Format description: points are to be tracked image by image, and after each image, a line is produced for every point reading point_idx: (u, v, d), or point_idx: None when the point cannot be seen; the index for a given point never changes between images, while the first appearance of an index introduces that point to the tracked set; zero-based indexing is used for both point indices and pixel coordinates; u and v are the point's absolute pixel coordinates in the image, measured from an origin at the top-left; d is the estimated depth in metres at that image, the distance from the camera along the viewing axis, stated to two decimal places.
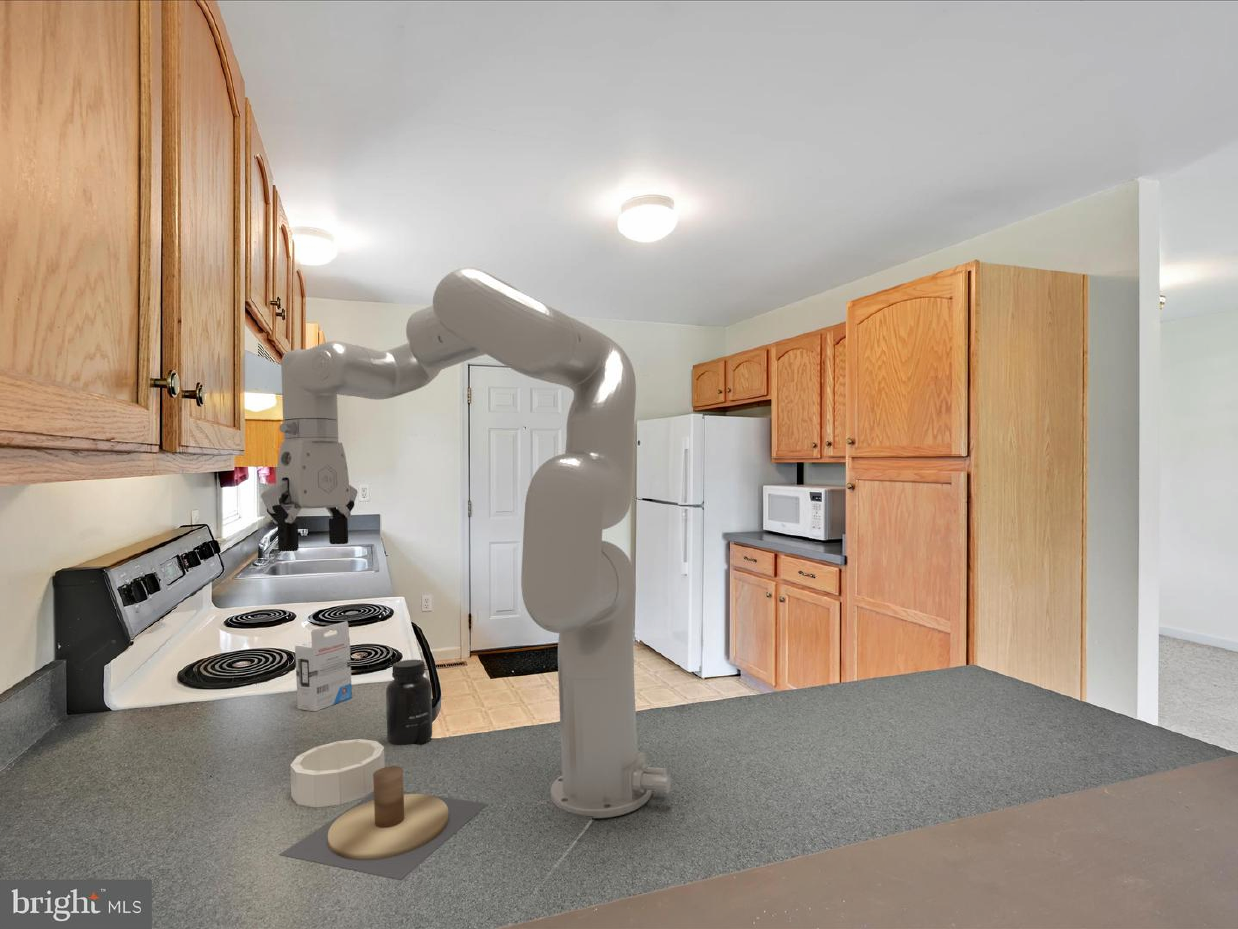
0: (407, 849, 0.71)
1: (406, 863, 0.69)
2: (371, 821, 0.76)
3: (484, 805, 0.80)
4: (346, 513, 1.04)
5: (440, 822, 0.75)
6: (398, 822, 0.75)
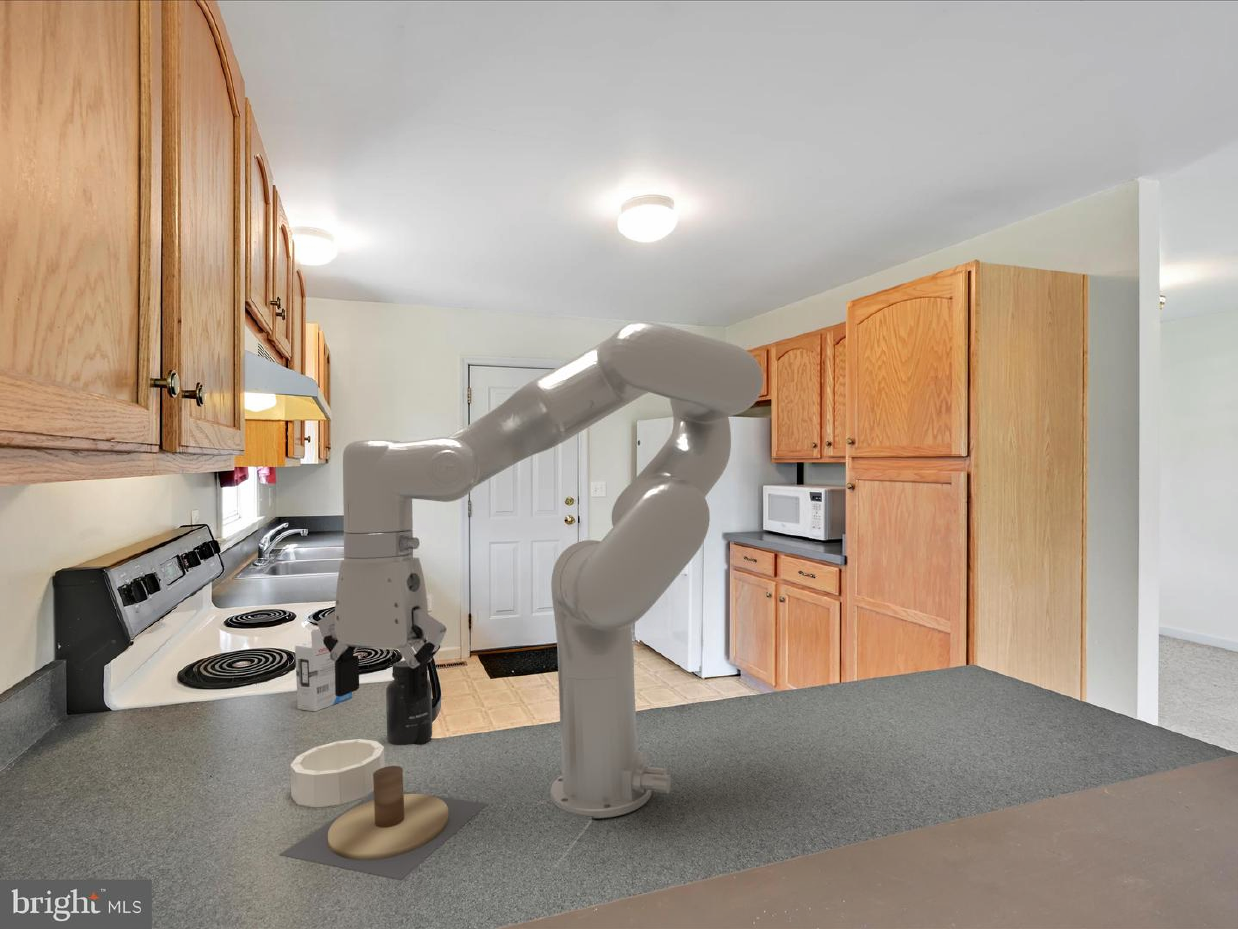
0: (407, 848, 0.71)
1: (406, 863, 0.69)
2: (371, 821, 0.76)
3: (484, 805, 0.80)
4: None
5: (440, 822, 0.75)
6: (398, 822, 0.75)
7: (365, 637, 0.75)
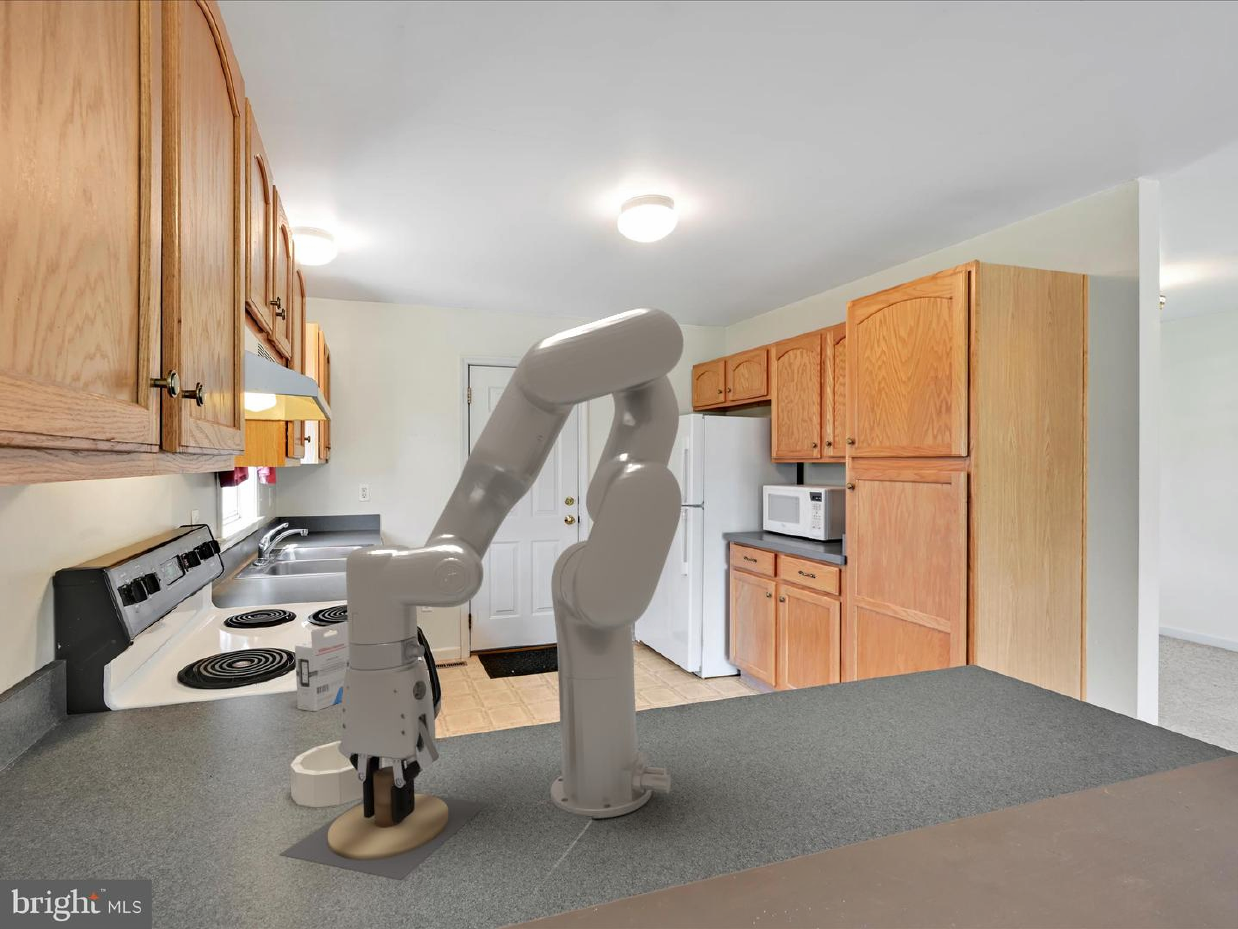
0: (407, 848, 0.71)
1: (406, 863, 0.69)
2: (371, 821, 0.76)
3: (484, 805, 0.80)
4: None
5: (440, 822, 0.75)
6: None
7: (372, 747, 0.74)
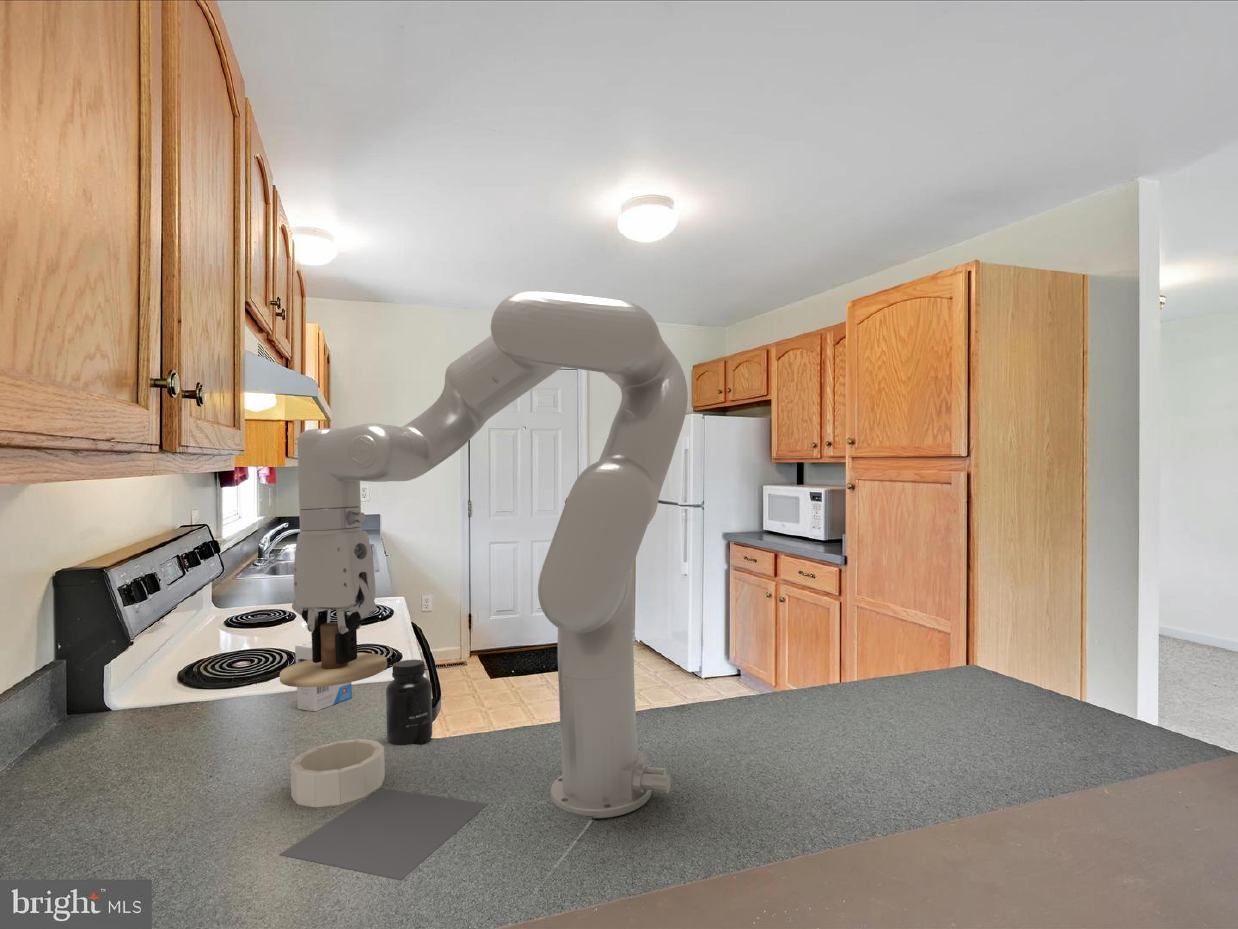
0: (346, 680, 0.82)
1: (406, 863, 0.69)
2: (318, 666, 0.88)
3: (484, 805, 0.80)
4: None
5: (378, 665, 0.87)
6: (341, 665, 0.87)
7: (319, 599, 0.86)
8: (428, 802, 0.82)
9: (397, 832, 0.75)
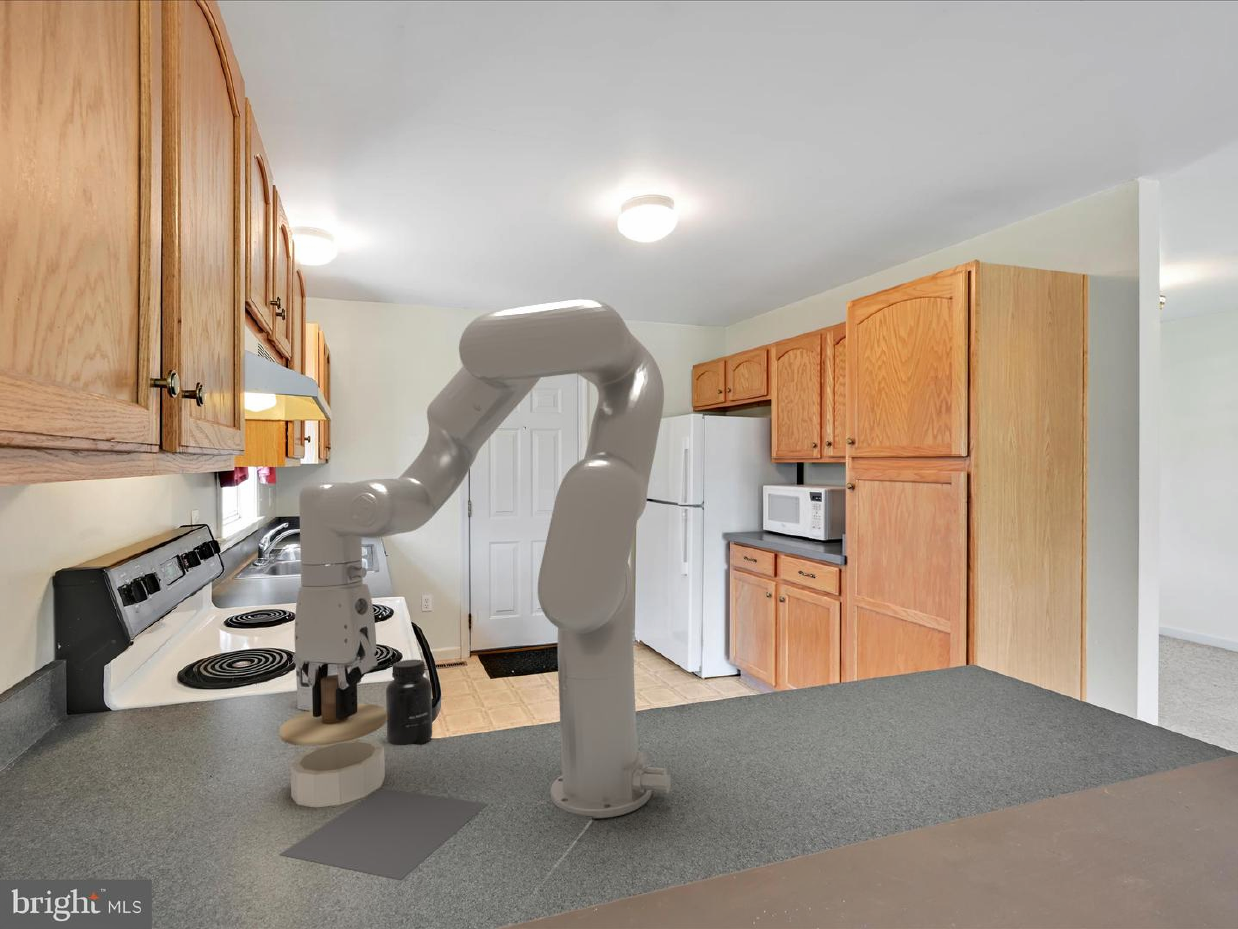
0: (346, 738, 0.82)
1: (406, 863, 0.69)
2: (319, 720, 0.88)
3: (484, 805, 0.80)
4: None
5: (378, 721, 0.87)
6: (342, 720, 0.87)
7: (320, 654, 0.86)
8: (428, 802, 0.82)
9: (397, 832, 0.75)
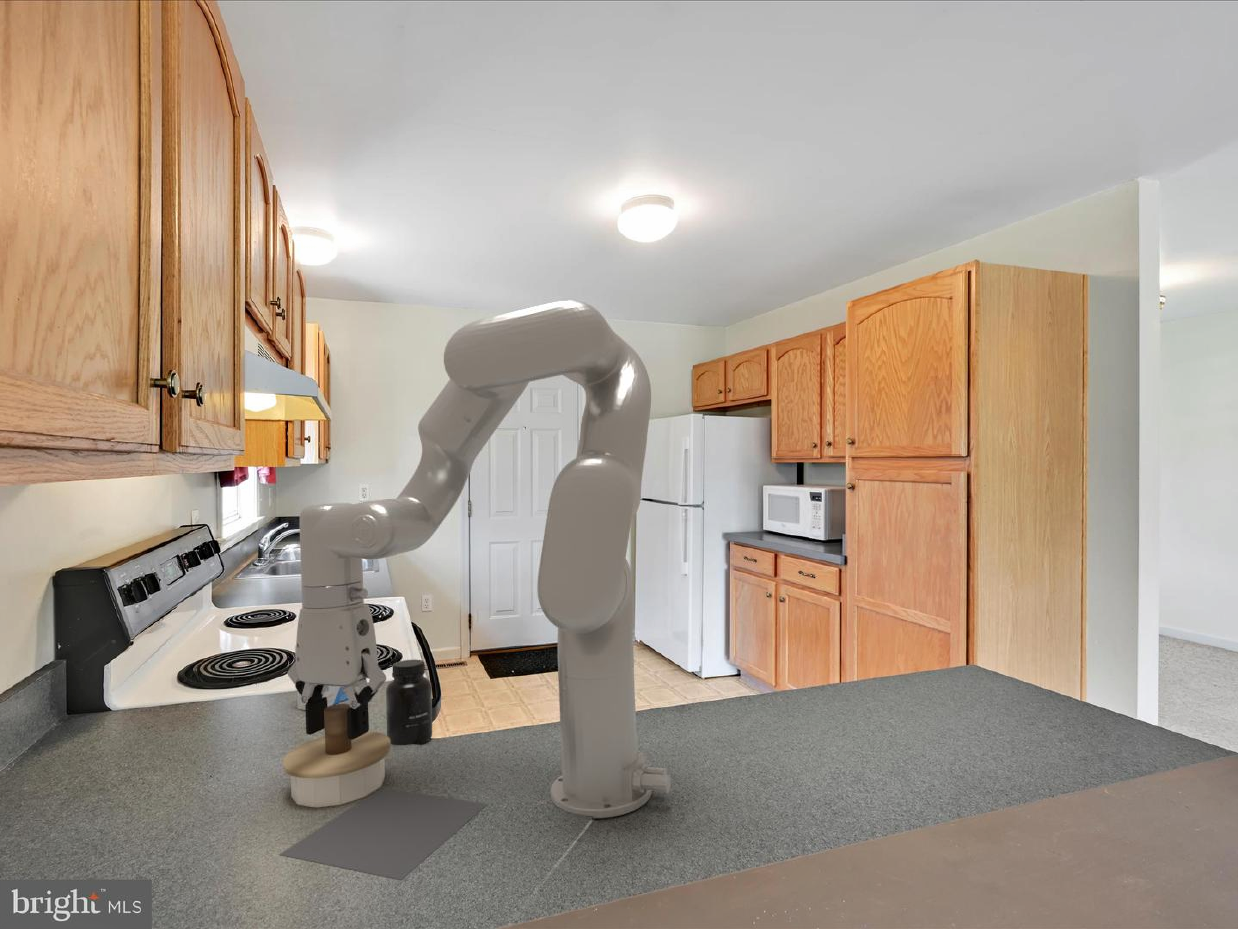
0: (350, 769, 0.82)
1: (406, 863, 0.69)
2: (322, 750, 0.88)
3: (484, 805, 0.80)
4: None
5: (382, 750, 0.87)
6: (345, 750, 0.87)
7: (321, 676, 0.86)
8: (428, 802, 0.82)
9: (397, 832, 0.75)
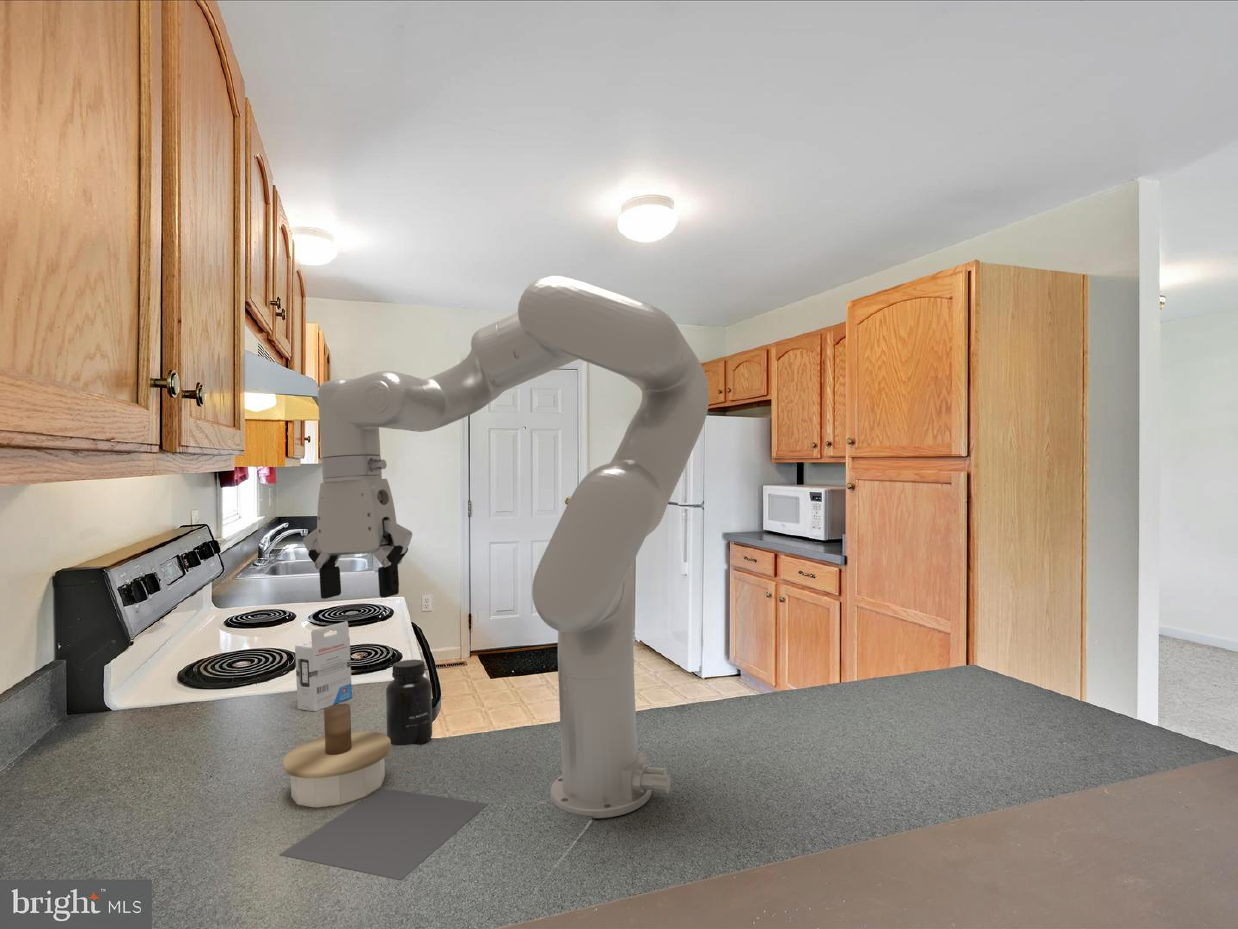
0: (350, 769, 0.82)
1: (406, 863, 0.69)
2: (322, 750, 0.88)
3: (484, 805, 0.80)
4: None
5: (382, 750, 0.87)
6: (345, 750, 0.87)
7: (344, 544, 0.89)
8: (428, 802, 0.82)
9: (397, 832, 0.75)
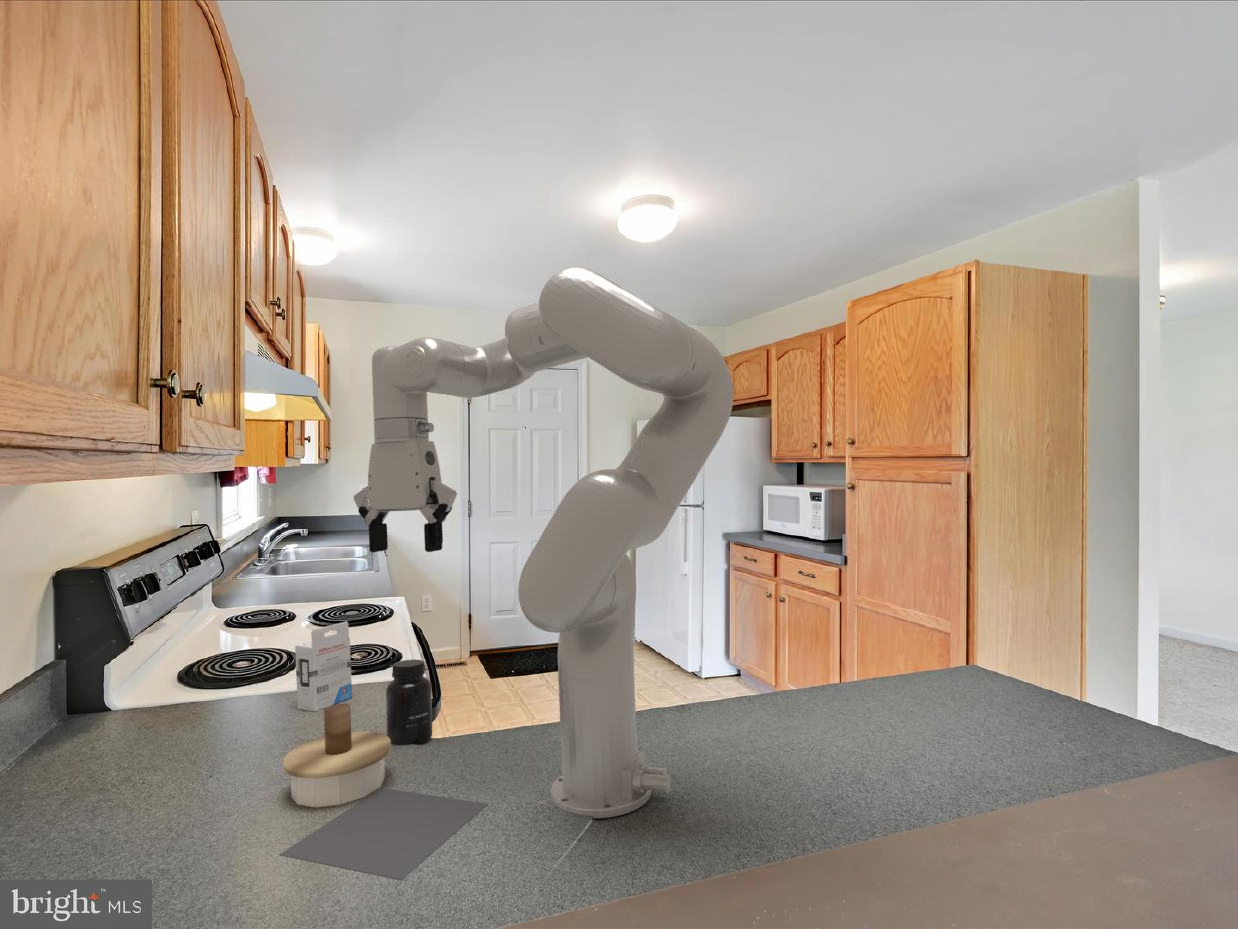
0: (350, 769, 0.82)
1: (406, 863, 0.69)
2: (322, 750, 0.88)
3: (484, 805, 0.80)
4: None
5: (382, 750, 0.87)
6: (345, 750, 0.87)
7: (393, 501, 0.94)
8: (428, 802, 0.82)
9: (397, 832, 0.75)
